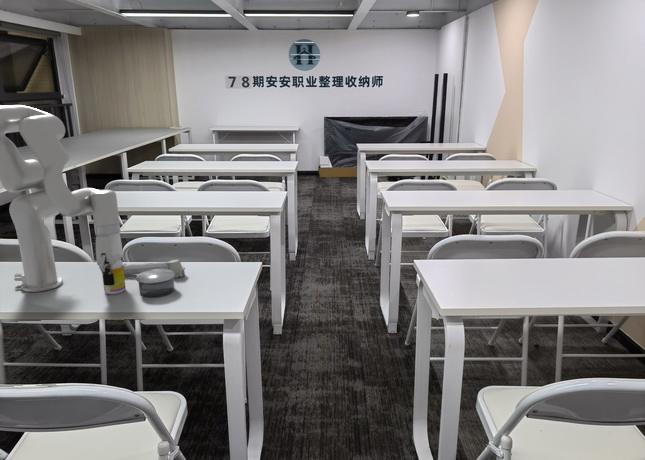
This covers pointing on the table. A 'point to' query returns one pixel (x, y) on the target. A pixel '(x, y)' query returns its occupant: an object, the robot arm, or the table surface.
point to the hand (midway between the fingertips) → (114, 280)
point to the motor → (156, 282)
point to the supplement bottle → (116, 279)
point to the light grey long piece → (154, 267)
